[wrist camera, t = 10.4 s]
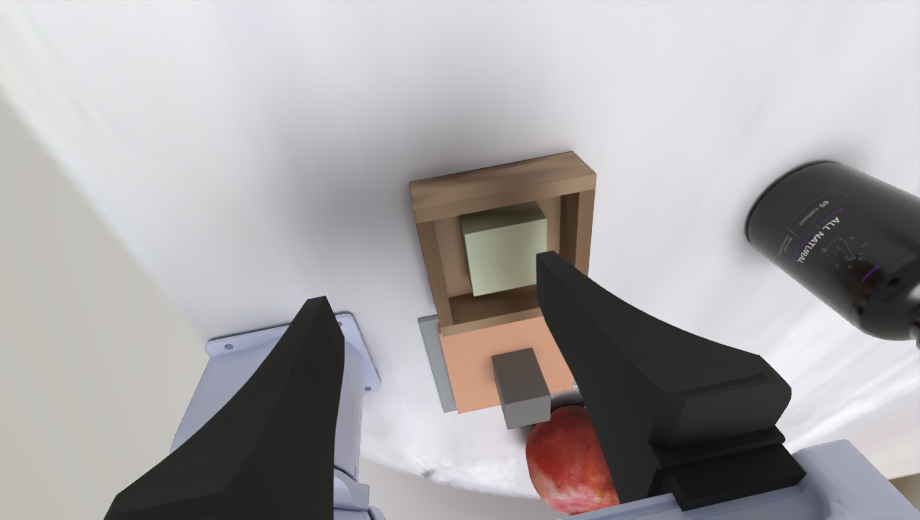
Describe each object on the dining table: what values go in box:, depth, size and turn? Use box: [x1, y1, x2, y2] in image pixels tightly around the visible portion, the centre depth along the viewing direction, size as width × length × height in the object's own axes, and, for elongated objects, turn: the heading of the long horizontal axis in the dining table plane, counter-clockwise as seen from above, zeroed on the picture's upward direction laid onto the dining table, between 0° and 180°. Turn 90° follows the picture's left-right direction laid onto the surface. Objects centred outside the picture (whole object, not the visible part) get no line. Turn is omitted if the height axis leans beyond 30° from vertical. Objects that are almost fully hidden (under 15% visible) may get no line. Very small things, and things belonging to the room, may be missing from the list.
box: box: [410, 151, 596, 337], centre depth 23 cm, size 9×9×3 cm
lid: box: [437, 316, 574, 429], centre depth 28 cm, size 10×10×5 cm
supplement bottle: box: [748, 163, 920, 350], centre depth 21 cm, size 7×7×12 cm
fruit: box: [526, 401, 620, 516], centre depth 33 cm, size 9×10×10 cm
